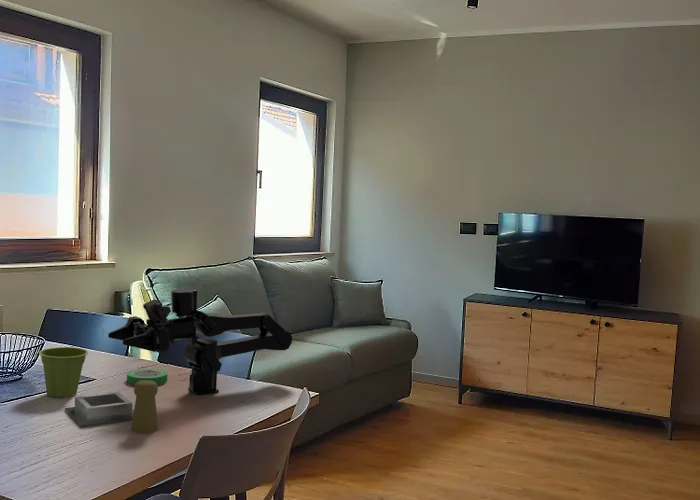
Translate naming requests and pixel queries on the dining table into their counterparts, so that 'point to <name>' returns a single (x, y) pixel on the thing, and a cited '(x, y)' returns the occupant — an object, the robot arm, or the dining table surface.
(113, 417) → the steel collar socket
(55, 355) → the plant pot
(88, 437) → the dining table surface
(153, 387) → the olive knobbed peg
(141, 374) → the tape roll
